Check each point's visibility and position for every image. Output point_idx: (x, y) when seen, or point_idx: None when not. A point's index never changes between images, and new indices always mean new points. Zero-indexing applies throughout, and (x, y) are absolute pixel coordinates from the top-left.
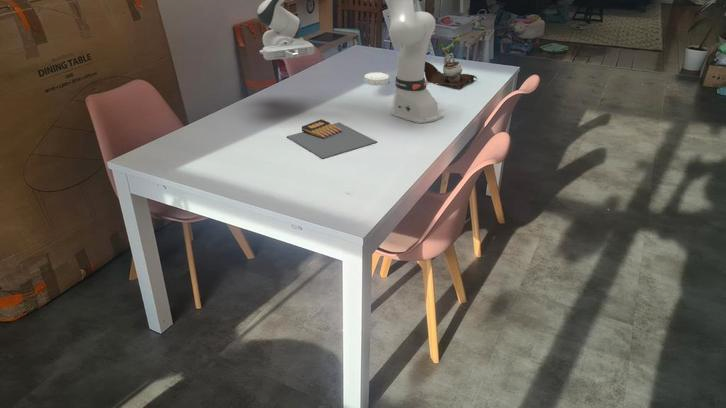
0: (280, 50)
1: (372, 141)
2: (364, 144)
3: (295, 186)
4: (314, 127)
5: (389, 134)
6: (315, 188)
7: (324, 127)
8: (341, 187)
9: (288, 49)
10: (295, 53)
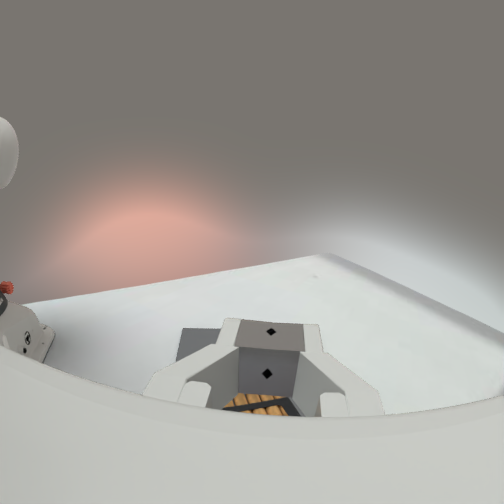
0: (464, 404)
1: (189, 331)
2: (211, 330)
3: (370, 297)
4: (266, 414)
5: (134, 337)
6: (347, 290)
7: (242, 398)
8: (317, 283)
9: (316, 417)
10: (265, 323)
